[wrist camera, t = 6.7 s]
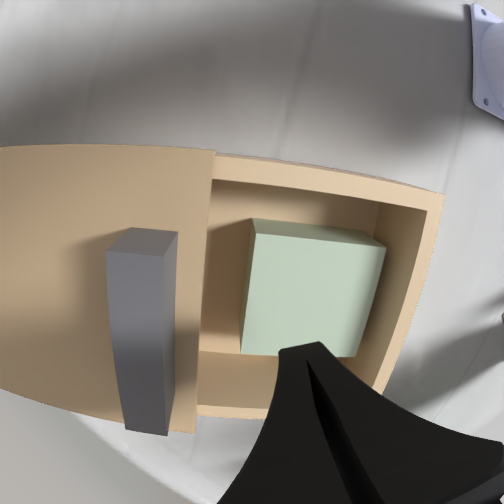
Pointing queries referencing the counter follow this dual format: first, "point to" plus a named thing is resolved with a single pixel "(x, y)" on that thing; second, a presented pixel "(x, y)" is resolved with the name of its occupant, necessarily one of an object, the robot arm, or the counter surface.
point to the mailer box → (306, 274)
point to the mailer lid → (104, 279)
